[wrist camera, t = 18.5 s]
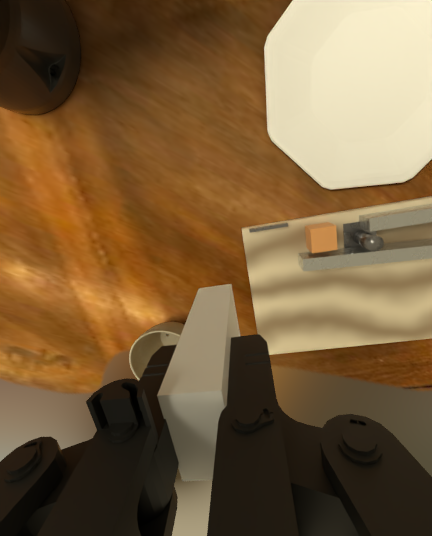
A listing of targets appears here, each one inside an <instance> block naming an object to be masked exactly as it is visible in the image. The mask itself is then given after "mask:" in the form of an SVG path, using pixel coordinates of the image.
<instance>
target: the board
mask: <svg viewBox="0 0 432 536" xmlns="http://www.w3.org/2000/svg"><path fill="white" fill-rule="evenodd" d="M431 203H432V196H429V197H423V198H417V199H411V200H405V201H399V202H393V203H387V204H381V205H375V206H369V207H363V208H357V209H351V210H345V211H339V212H333V213H327V214H321V215H315V216H309V217H303V218H297V219H291V220H285V221H279V222H273V223H267V224H261V225H255V226H249V227H243V228H242V235H243V242H244V248H245V255H246V261H247V268H248V274H249V281H250V287H251V294H252V300H253V306H254V313H255V319H256V326H257V332H258V334H260V335H261V336H262V337H263V338H264V339H265V340H266V342H267V345H268V351H269V355H272V354H282V353H292V352H302V351H311V350H321V349H331V348H341V347H351V346H361V345H371V344H381V343H391V342H400V341H410V340H420V339H430V338H432V258H430V259H420V260H411V261H401V262H391V263H381V264H372V265H362V266H352V267H342V268H332V269H323V270H313V271H303V270H302V269H301V267H300V266H299V263H298V253H304V252H310V251H309V250H308V249H307V246H306V235H305V226H306V225H313V224H319V223H325V222H330V223H332V224H334V225H336V231H337V249H340V248H344V237H343V224H346V223H353V222H359V215H364V214H370V213H376V212H382V211H388V210H394V209H400V208H407V207H413V206H419V205H425V204H431ZM280 223H288V227H281V228H275V229H269V230H263V231H257V232H251V233H250V232H249V229H250V228H256V227H262V226H268V225H274V224H280ZM377 236H379V237H381V238H382V239H383V241H384V244H385V243H394V242H403V241H412V240H422V239H431V238H432V222H429V223H423V224H416V225H410V226H403V227H397V228H390V229H384V230H377Z"/></svg>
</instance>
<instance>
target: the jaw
mask: <svg viewBox="0 0 432 536" xmlns="http://www.w3.org/2000/svg"><path fill="white" fill-rule="evenodd" d="M430 258H432V238H431V239H422V240H412V241H403V242H394V243H385V244H384V245H383V247H382V248H381V249H380V250H379V251H375V252H373V251H370V250H368V249H366V248H365V247H363V246H358V247H349V248H340V249H337V250H332V251H326V252H319V253H311V252H304V253H298V263H299V266H300V267H301V269H302V270H303V271H313V270H323V269H332V268H342V267H352V266H362V265H372V264H381V263H391V262H401V261H411V260H420V259H430Z"/></svg>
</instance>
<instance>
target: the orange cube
mask: <svg viewBox="0 0 432 536" xmlns="http://www.w3.org/2000/svg"><path fill="white" fill-rule="evenodd" d="M305 235H306V246H307V249H308V250H309V251H310V252H311V253H319V252H326V251H332V250H337V231H336V225H334V224H332V223H330V222H325V223H319V224H313V225H306V226H305Z"/></svg>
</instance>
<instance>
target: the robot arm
mask: <svg viewBox="0 0 432 536" xmlns="http://www.w3.org/2000/svg"><path fill="white" fill-rule="evenodd" d="M80 60H81V48H80V39H79V34H78V30H77V26H76V23H75V20H74V17H73V15H72V13H71V11H70V9H69V7H68V5H67V3H66V1H65V0H0V107H2V108H5V109H8V110H12V111H15V112H18V113H22V114H29V115H36V114H43V113H46V112H49V111H51V110H53V109H55V108H56V107H58V106H59V105H60V104H62V103H63V102H64V101H65V99H66V98H67V97H68V96H69V94H70V93H71V91H72V89H73V87H74V85H75V83H76V80H77V77H78V73H79V69H80ZM86 403H87V405H88V408H89V411H90V413H91V416H92V418H93V421H94V423H95V426H96V428H97V432H96V433H95V435H94V437H93V438H92V439H90V440H88V441H85V442H82V443H79V444H76V445H74V446H71V447H68V448H65V449H62V450H61V449H60V447H59V445H58V442H57V440H55V439H53V438H52V437H40V438H37V439H34V440H31V441H28V442H27V443H25V444H23V445H21V446H20V447H18V448H16V449H15V450H14V451H13V452H11V453H10V454H9V455H8V456H6V457H5V458H4V459H3V460H2V461H1V462H0V536H172V531H173V526H174V521H175V516H176V510H177V494H176V490H175V487H174V483H175V478H176V474H177V469H178V468H179V471H180V474H181V478H182V481H204V480H213V481H212V491H211V502H210V513H209V522H208V533H207V536H432V477H431V476H430V475H429V473H428V472H427V471H426V470H425V469H424V468H423V467H422V466H421V465H420V464H419V462H418V461H417V460H416V459H415V458H414V457H413V456H412V455H411V454H410V453H409V452H408V450H407V449H406V448H405V447H404V446H403V445H402V444H401V443H400V442H399V440H397V438H396V437H395V436H394V435H393V434H392V433H391V432H389V431H388V430H387V429H386V428H385V427H383V426H382V425H381V424H380V423H378V422H375V421H373V420H371V419H369V418H367V417H363V416H358V415H353V414H348V415H338V416H336V417H334V418H332V419H330V420H328V421H327V422H326V424H325V425H324V427H323V428H320V427H315V426H310V425H306V424H303V423H300V422H297V421H295V420H293V419H292V418H290V417H289V416H288V415H286V414H285V413H284V412H283V411H282V410H281V408H280V407H279V405H278V402H277V399H276V394H275V388H274V381H273V375H272V369H271V363H270V357H269V351H268V345H267V342H266V340H265V339H264V338H263V337H262V336H261V335H260V334H257V335H248V336H240V331H239V325H238V320H237V314H236V308H235V303H234V297H233V291H232V286H231V284H227V285H220V286H213V287H205V288H199V290H198V292H197V295H196V297H195V300H194V302H193V305H192V308H191V310H190V313H189V315H188V318H187V320H186V323H185V326H184V328H183V331H182V333H181V336H180V338H179V341H178V343H177V345H168V346H162V347H160V348H159V349H158V350H157V351H156V352H155V353H154V354H153V355H152V356H151V358H150V360H149V362H148V364H147V368H145V370H144V372H143V374H142V377H141V378H140V380H139V381H137V380H135V379H122V380H117V381H114V382H112V383H109V384H107V385H105V386H103V387H102V388H100V389H99V390H98V391H96V392H95V393H94V394H93V395H92V396H91V397H90V398H89V399H88V400H87V401H86Z"/></svg>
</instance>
